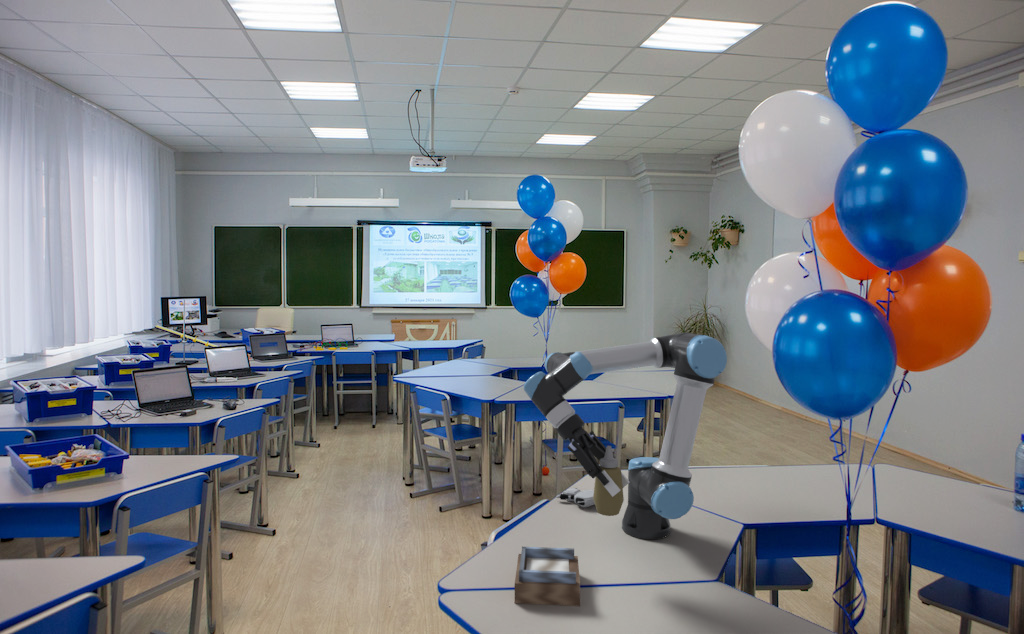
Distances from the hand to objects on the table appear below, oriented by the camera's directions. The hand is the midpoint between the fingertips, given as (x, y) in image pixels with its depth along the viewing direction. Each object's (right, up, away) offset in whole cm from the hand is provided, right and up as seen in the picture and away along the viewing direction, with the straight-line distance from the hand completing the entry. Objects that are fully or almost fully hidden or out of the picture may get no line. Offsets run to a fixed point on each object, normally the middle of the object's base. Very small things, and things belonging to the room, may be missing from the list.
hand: (621, 489), depth 157 cm
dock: (-20, -24, -4) cm, 32 cm away
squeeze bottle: (-3, -7, +2) cm, 8 cm away
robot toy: (-4, -22, +56) cm, 60 cm away
